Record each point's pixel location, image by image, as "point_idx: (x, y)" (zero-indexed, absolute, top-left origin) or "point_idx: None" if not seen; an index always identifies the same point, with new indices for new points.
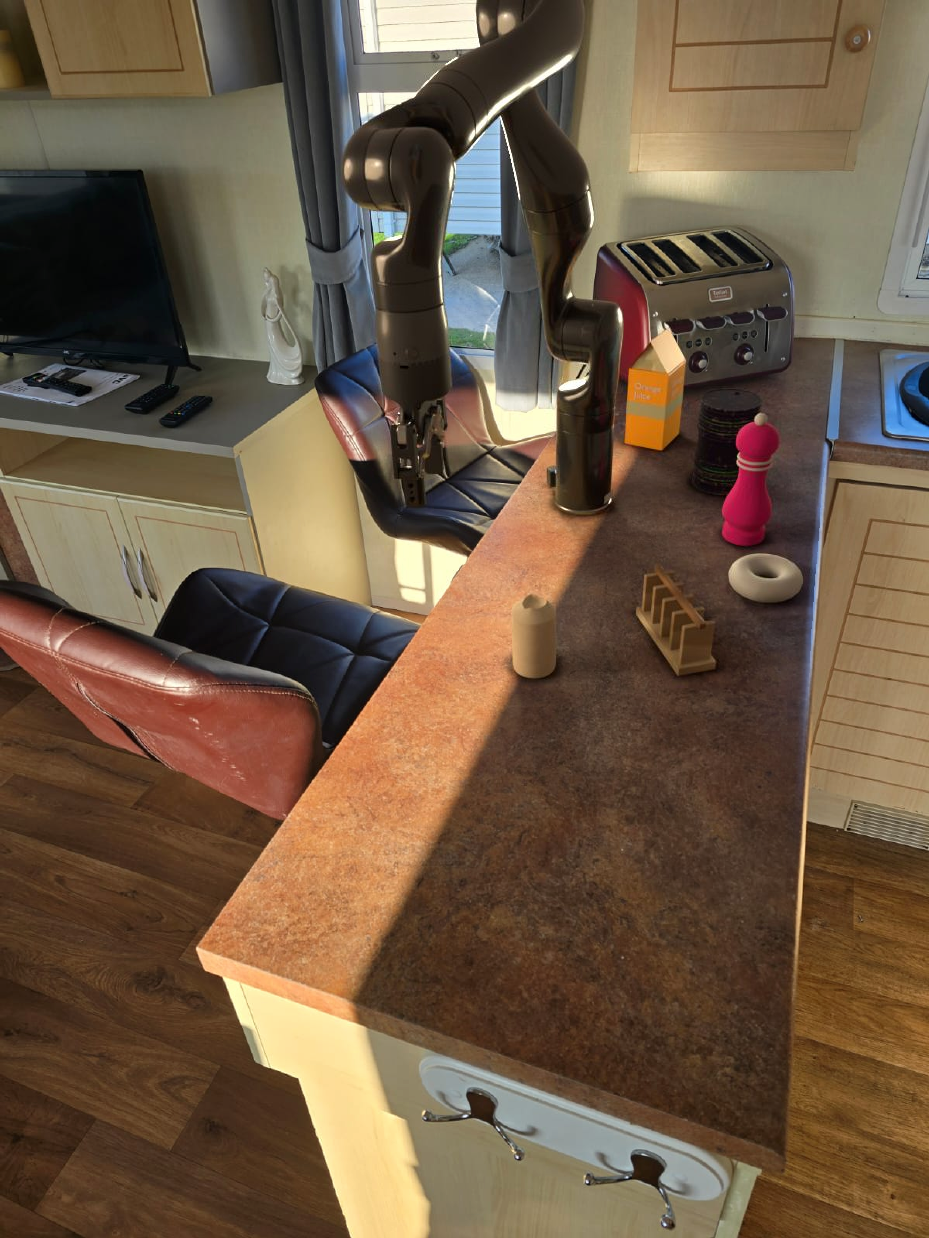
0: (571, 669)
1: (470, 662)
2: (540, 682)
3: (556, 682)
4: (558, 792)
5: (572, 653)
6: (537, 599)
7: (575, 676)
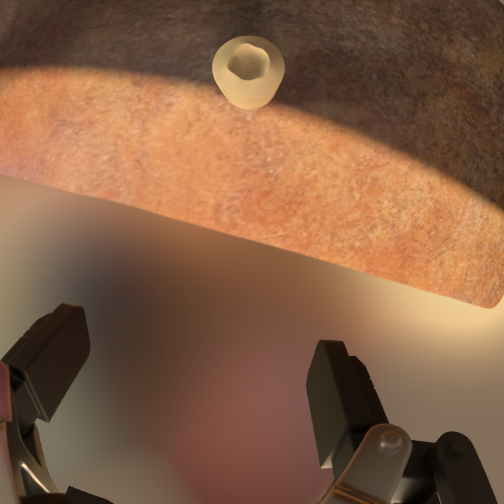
0: None
1: (244, 161)
2: None
3: None
4: (433, 84)
5: None
6: (233, 58)
7: None
